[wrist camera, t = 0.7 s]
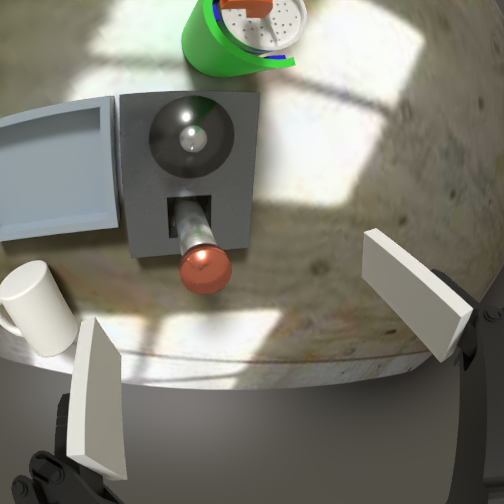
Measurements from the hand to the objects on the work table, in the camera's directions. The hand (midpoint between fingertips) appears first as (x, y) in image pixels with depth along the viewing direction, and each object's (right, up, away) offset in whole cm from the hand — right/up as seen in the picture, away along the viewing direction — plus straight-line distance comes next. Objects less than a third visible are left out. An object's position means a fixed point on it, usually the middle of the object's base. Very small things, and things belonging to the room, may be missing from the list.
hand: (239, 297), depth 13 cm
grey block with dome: (-7, +11, +19) cm, 23 cm away
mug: (-30, -4, +20) cm, 36 cm away
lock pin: (-7, +7, +21) cm, 24 cm away
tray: (-23, +11, +13) cm, 29 cm away
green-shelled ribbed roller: (-3, +25, +13) cm, 28 cm away
